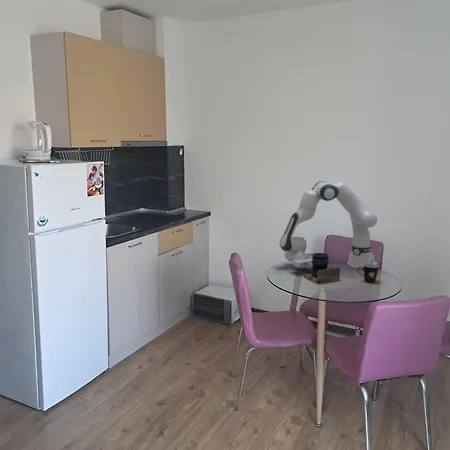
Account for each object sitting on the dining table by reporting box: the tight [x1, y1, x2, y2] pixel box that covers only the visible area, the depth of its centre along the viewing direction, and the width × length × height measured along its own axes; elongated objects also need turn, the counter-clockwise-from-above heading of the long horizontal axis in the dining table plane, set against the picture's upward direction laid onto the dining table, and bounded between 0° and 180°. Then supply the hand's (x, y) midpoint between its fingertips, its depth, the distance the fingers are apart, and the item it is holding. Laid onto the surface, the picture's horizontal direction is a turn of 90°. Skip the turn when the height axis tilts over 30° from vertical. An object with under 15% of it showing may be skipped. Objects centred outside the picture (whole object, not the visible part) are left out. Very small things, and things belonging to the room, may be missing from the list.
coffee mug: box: [356, 264, 380, 284], centre depth 271 cm, size 12×9×10 cm
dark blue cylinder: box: [311, 252, 330, 278], centre depth 275 cm, size 10×10×15 cm
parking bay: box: [303, 266, 341, 285], centre depth 275 cm, size 14×16×8 cm
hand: (316, 265), depth 279 cm, fingers closed
